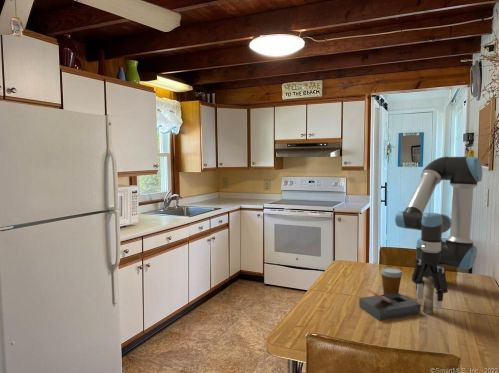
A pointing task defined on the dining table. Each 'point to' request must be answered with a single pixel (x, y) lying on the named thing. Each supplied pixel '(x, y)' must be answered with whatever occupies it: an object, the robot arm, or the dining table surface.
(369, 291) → the keeper tab
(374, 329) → the dining table surface
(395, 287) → the disposable coffee cup
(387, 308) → the plate
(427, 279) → the peg
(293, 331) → the dining table surface
